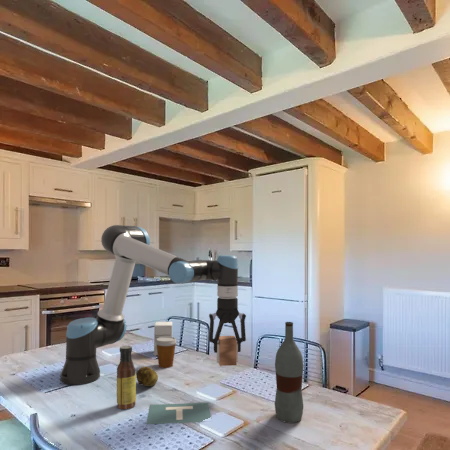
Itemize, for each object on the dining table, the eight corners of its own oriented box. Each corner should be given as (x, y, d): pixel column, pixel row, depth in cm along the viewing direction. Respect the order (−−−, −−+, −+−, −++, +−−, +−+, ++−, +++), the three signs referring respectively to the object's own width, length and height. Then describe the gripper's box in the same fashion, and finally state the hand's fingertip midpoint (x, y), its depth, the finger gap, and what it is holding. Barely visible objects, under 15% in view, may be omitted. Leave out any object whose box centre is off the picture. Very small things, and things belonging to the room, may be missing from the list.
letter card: (146, 424, 114) (146, 424, 114) (149, 405, 128) (149, 404, 128) (211, 421, 116) (211, 421, 117) (208, 403, 130) (208, 402, 130)
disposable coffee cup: (174, 369, 165) (175, 341, 166) (153, 369, 165) (153, 341, 166) (177, 362, 175) (178, 336, 175) (157, 362, 175) (157, 336, 176)
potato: (166, 382, 150) (166, 361, 150) (146, 393, 138) (147, 371, 138) (149, 378, 153) (149, 359, 154) (128, 389, 141) (129, 368, 142)
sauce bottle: (139, 404, 129) (140, 345, 130) (128, 411, 123) (130, 350, 124) (122, 401, 131) (124, 343, 132) (112, 408, 125) (113, 348, 126)
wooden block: (219, 365, 133) (220, 340, 134) (218, 360, 139) (218, 336, 140) (236, 365, 134) (236, 339, 135) (234, 360, 140) (234, 335, 141)
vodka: (308, 421, 117) (308, 324, 119) (282, 425, 115) (282, 326, 116) (295, 409, 126) (295, 319, 128) (269, 412, 124) (270, 320, 125)
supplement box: (154, 350, 194) (155, 321, 194) (172, 350, 195) (172, 321, 195) (153, 356, 185) (154, 325, 185) (171, 355, 186) (172, 325, 186)
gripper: (202, 299, 133) (201, 365, 132) (254, 298, 136) (254, 363, 134) (201, 296, 141) (200, 358, 139) (250, 295, 143) (250, 357, 142)
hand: (227, 361), depth 137 cm, fingers closed on wooden block, 6 cm apart
